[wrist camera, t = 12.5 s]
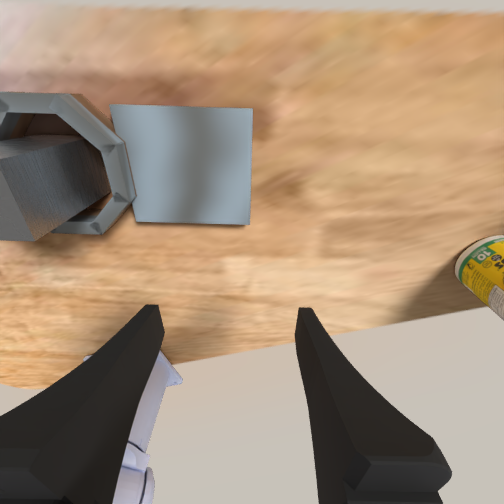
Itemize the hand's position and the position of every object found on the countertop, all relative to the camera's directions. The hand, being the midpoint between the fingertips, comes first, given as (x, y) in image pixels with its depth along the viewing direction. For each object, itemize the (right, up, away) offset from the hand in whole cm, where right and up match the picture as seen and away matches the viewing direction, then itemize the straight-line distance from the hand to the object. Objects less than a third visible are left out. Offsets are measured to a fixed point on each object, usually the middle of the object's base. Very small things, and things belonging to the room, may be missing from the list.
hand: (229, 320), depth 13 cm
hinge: (-12, +10, +6) cm, 17 cm away
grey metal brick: (-12, +10, +6) cm, 17 cm away
